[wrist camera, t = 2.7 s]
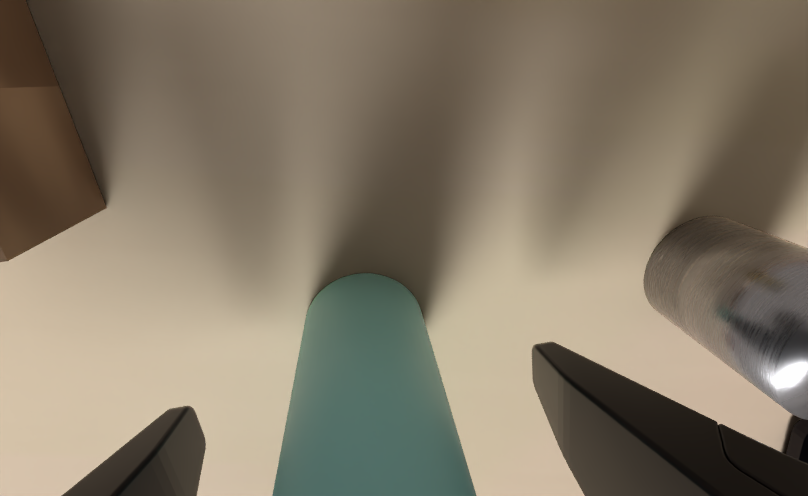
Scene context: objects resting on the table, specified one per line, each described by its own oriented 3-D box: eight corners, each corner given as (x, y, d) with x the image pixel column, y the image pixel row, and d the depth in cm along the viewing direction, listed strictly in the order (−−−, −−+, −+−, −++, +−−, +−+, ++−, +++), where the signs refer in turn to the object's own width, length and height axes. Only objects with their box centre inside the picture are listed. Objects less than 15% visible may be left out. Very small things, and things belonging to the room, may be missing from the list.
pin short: (742, 308, 13) (904, 405, 9) (639, 327, 12) (763, 433, 9) (759, 207, 11) (953, 269, 8) (647, 225, 11) (792, 298, 8)
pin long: (428, 364, 12) (601, 1011, 4) (318, 384, 12) (240, 1107, 4) (415, 264, 11) (620, 860, 3) (293, 284, 11) (96, 995, 2)
